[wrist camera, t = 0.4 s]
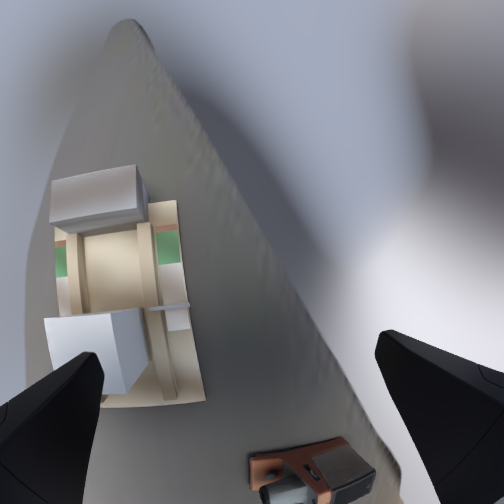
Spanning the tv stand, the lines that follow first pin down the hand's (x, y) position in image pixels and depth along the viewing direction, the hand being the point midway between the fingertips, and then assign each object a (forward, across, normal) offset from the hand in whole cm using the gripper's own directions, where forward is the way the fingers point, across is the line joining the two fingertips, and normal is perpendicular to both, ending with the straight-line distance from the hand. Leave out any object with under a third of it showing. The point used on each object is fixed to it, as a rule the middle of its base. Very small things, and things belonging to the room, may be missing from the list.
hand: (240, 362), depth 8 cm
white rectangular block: (+11, +7, +6) cm, 14 cm away
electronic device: (+6, -5, +20) cm, 22 cm away
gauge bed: (+13, +9, +4) cm, 16 cm away
